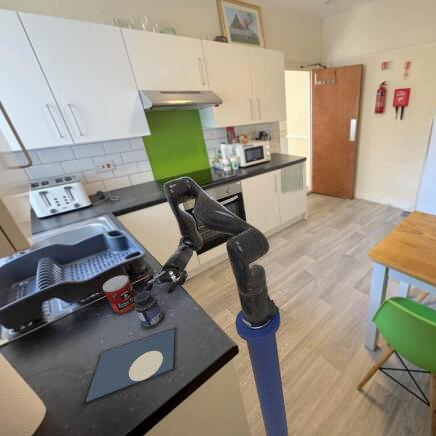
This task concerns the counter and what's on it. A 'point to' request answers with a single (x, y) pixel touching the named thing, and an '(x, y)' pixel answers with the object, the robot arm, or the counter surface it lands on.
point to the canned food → (120, 293)
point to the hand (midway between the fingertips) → (157, 292)
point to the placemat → (133, 363)
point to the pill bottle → (148, 309)
